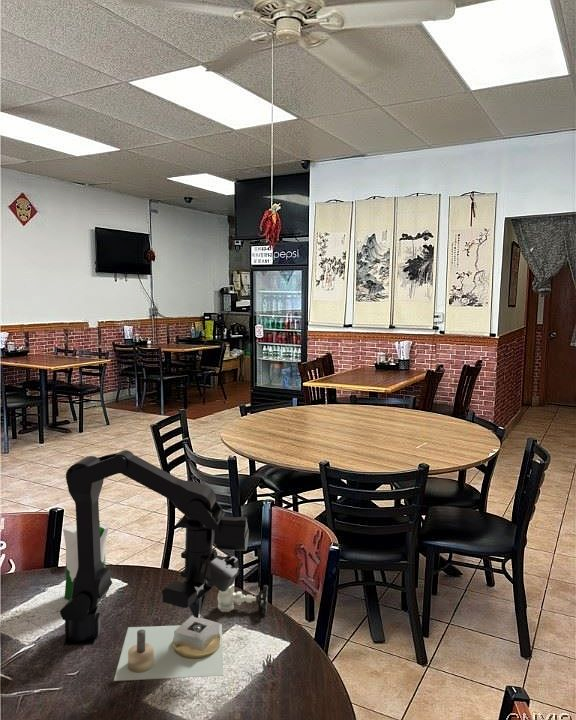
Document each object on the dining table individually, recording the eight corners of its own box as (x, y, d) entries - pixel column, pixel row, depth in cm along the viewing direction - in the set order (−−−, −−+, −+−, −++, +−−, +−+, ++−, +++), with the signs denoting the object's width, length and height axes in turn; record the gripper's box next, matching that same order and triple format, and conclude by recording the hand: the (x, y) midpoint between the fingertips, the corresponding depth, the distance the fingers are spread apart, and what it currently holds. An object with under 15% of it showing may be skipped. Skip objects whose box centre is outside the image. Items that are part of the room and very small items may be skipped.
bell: (171, 660, 114) (171, 642, 113) (174, 631, 124) (175, 615, 123) (220, 657, 115) (220, 640, 115) (219, 630, 125) (220, 613, 125)
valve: (214, 617, 131) (265, 620, 131) (215, 590, 130) (266, 593, 130) (219, 602, 138) (267, 605, 137) (220, 577, 137) (268, 579, 137)
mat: (113, 682, 107) (113, 680, 107) (128, 629, 125) (128, 627, 125) (223, 677, 110) (223, 675, 110) (221, 625, 127) (222, 623, 127)
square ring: (173, 642, 117) (174, 631, 117) (191, 625, 124) (192, 615, 123) (202, 651, 115) (202, 640, 114) (219, 633, 121) (219, 623, 121)
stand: (126, 673, 109) (126, 639, 108) (129, 657, 114) (130, 625, 113) (152, 672, 110) (152, 638, 109) (154, 656, 115) (155, 624, 114)
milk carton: (80, 611, 131) (80, 529, 129) (58, 598, 136) (58, 519, 135) (111, 596, 138) (112, 519, 136) (89, 585, 143) (90, 510, 142)
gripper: (209, 573, 106) (207, 651, 107) (252, 538, 123) (250, 605, 124) (160, 561, 110) (159, 636, 111) (208, 528, 127) (207, 593, 128)
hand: (197, 616), depth 119 cm, fingers closed
